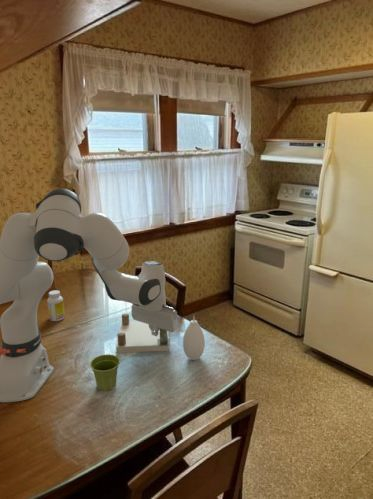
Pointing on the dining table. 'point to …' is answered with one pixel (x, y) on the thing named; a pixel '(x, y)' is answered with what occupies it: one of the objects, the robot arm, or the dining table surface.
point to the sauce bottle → (193, 340)
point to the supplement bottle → (55, 306)
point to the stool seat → (138, 337)
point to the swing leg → (163, 336)
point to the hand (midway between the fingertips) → (155, 335)
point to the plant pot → (105, 371)
